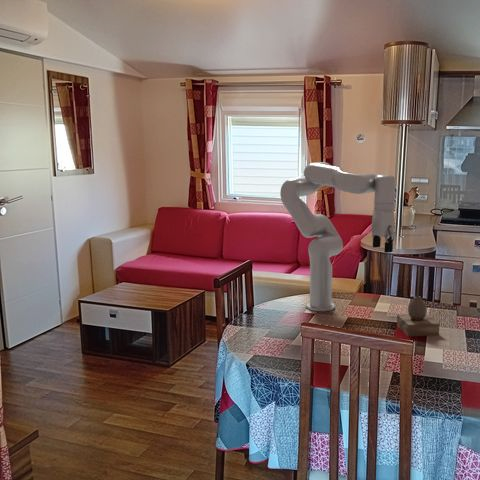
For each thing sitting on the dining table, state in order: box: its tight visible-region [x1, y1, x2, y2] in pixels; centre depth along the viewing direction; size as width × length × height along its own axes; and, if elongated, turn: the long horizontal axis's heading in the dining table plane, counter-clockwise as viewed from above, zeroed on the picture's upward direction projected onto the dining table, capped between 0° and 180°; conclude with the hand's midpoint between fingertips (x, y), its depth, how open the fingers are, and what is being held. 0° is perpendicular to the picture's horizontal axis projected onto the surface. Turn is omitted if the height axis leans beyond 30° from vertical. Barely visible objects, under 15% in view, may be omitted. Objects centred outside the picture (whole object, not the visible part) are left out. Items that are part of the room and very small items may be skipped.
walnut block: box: [396, 313, 440, 337], centre depth 211 cm, size 12×12×5 cm
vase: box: [407, 295, 428, 320], centre depth 210 cm, size 7×7×9 cm
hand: (382, 249), depth 215 cm, fingers open, 9 cm apart
